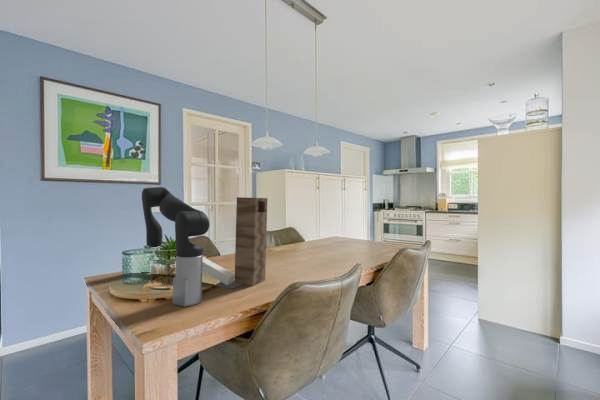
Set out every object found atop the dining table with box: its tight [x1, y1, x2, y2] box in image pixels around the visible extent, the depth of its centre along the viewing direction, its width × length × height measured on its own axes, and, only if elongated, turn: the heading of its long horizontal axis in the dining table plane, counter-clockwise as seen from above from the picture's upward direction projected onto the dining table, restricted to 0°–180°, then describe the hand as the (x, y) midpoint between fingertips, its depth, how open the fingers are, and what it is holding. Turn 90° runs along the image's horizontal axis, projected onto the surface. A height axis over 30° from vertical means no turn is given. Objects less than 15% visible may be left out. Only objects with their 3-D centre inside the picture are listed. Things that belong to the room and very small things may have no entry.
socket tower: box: [234, 196, 268, 287], centre depth 128 cm, size 10×10×38 cm
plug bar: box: [202, 256, 235, 285], centre depth 126 cm, size 4×22×4 cm, turn 66°
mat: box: [214, 281, 243, 290], centre depth 126 cm, size 7×25×1 cm, turn 66°
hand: (206, 264), depth 128 cm, fingers closed on plug bar, 4 cm apart
